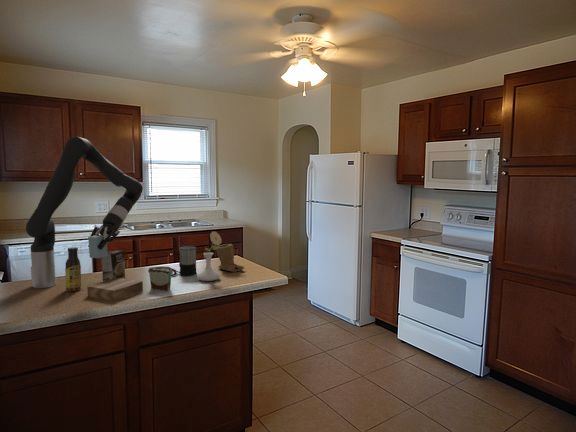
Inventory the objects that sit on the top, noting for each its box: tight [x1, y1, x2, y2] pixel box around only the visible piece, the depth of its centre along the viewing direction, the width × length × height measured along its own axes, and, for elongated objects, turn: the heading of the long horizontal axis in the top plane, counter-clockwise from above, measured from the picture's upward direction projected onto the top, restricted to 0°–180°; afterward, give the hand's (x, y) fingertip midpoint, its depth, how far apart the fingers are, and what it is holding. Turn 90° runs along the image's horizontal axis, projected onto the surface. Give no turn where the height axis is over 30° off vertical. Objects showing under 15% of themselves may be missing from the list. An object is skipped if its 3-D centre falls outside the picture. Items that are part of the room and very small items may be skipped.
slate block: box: [87, 234, 108, 259], centre depth 163 cm, size 5×5×9 cm
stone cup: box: [215, 243, 245, 273], centre depth 213 cm, size 15×12×15 cm
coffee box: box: [101, 249, 126, 282], centre depth 184 cm, size 9×6×16 cm
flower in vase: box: [196, 231, 223, 282], centre depth 193 cm, size 13×11×25 cm
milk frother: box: [170, 245, 198, 277], centre depth 202 cm, size 14×16×15 cm
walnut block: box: [87, 278, 144, 302], centre depth 169 cm, size 16×16×5 cm
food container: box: [147, 266, 174, 292], centre depth 177 cm, size 12×6×10 cm, turn 71°
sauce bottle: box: [64, 246, 82, 292], centre depth 174 cm, size 7×6×20 cm
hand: (94, 248), depth 161 cm, fingers closed on slate block, 5 cm apart
